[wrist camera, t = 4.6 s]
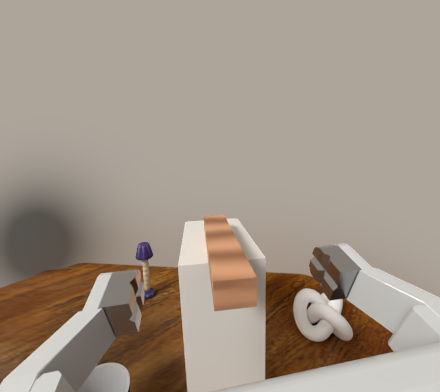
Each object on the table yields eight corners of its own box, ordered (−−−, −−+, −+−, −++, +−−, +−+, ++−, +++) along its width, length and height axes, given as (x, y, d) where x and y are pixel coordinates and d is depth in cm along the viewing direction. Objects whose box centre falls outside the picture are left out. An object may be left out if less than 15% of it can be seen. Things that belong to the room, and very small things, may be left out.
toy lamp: (159, 292, 63) (155, 241, 60) (149, 302, 59) (144, 247, 56) (147, 289, 65) (142, 239, 62) (136, 298, 60) (130, 245, 57)
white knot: (299, 304, 56) (300, 274, 54) (351, 322, 49) (354, 288, 48) (289, 335, 46) (290, 299, 45) (351, 361, 40) (355, 321, 38)
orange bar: (256, 306, 19) (256, 277, 19) (214, 311, 19) (213, 281, 18) (224, 229, 41) (224, 214, 40) (204, 230, 40) (203, 216, 40)
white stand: (264, 408, 33) (265, 258, 28) (189, 421, 32) (178, 265, 27) (239, 316, 52) (237, 218, 48) (192, 321, 51) (185, 221, 47)
